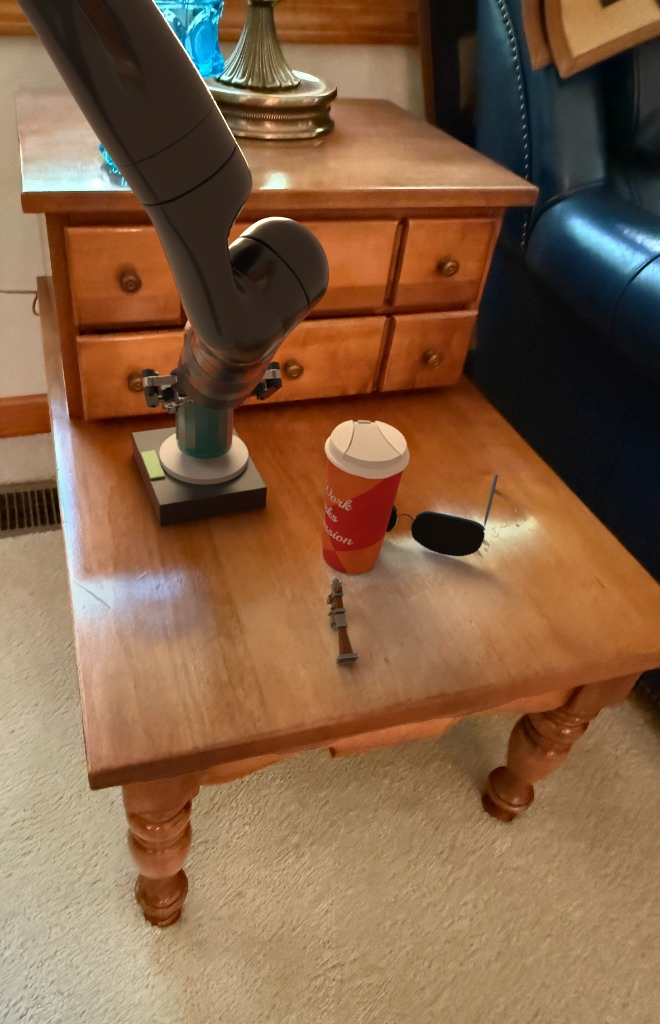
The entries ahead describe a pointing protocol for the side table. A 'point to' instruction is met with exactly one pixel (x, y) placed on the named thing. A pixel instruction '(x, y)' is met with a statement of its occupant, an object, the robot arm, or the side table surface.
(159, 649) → the side table surface
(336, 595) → the wooden post with brackets
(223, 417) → the teal open tube
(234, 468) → the scale
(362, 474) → the coffee cup
